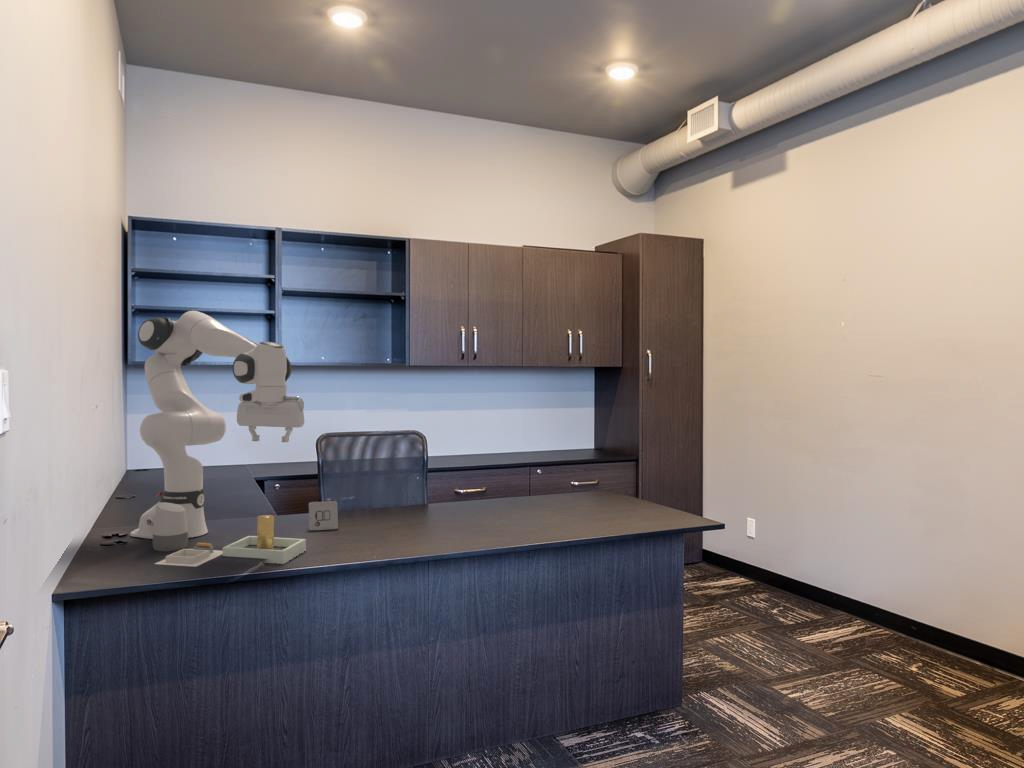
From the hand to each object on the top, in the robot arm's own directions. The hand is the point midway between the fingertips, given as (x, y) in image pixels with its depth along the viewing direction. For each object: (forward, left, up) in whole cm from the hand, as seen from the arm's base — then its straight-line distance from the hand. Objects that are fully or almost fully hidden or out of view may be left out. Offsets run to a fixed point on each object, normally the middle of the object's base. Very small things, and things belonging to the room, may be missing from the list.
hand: (270, 441), depth 214 cm
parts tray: (+5, -12, -31) cm, 34 cm away
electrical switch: (+7, +23, -31) cm, 40 cm away
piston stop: (+5, -12, -30) cm, 33 cm away
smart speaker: (-23, -14, -31) cm, 41 cm away
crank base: (-11, -22, -31) cm, 40 cm away
